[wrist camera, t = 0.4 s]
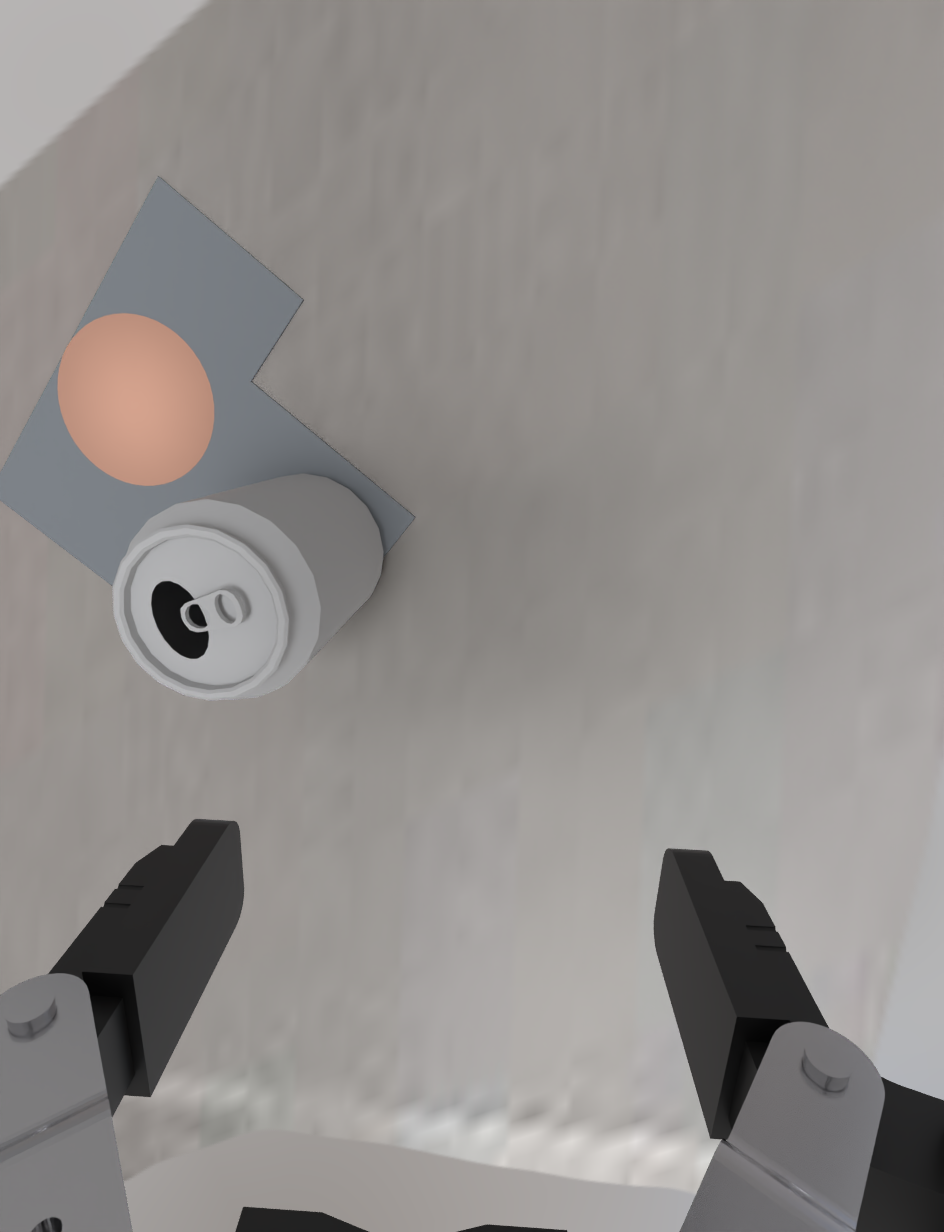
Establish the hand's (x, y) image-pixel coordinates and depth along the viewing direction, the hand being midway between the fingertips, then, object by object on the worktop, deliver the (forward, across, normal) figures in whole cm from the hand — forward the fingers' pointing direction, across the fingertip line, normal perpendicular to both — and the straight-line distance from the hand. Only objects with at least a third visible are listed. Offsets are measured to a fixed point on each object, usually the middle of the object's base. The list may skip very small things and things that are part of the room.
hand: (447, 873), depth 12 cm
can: (+22, +8, -1) cm, 24 cm away
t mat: (+23, +13, -5) cm, 27 cm away
